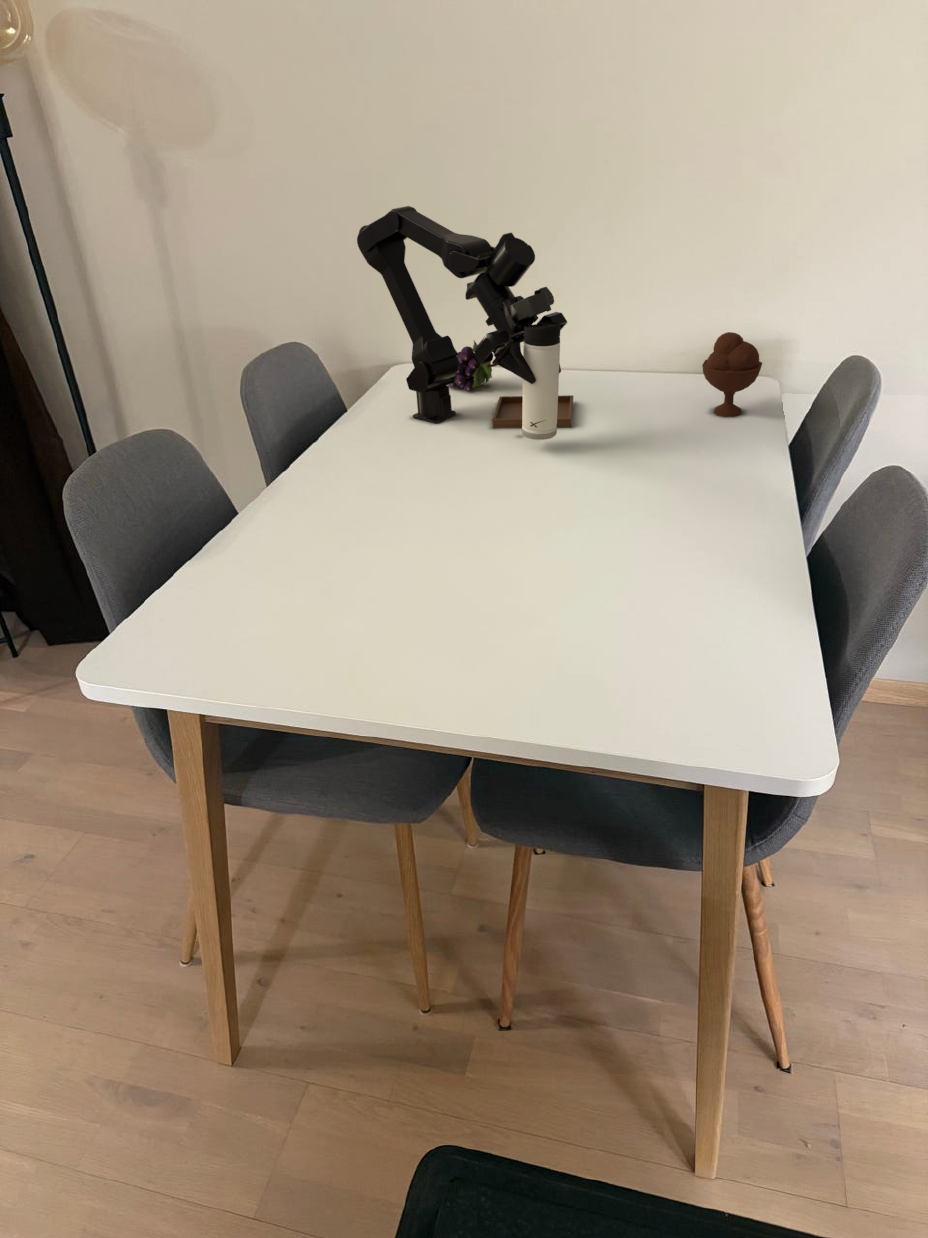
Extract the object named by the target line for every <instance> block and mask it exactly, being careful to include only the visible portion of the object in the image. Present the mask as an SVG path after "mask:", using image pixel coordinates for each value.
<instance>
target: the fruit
mask: <svg viewBox="0 0 928 1238" xmlns="http://www.w3.org/2000/svg"><path fill="white" fill-rule="evenodd" d="M477 345H478V344H477V342H476V340H473V344H472V347H471V346H468V345H467V346H464V347H462V348H461V350H460V351H457V352H458V355H457V357H458V360H459V366H458V371H457V376H456V381H455V383H453V384H449V385H448V386H451V387H455V386H457V385H458V388H459V389H463V390H464V391H465V392H466V391H467V392H471V391H473V390H474V389H475V388H476V387H480V386H482V385H483V384H484V383H485V385H488V382H489V381H490V379H493V375H492V372H493V368H494V367H498V365H493V364H492V361H491V362H488V363H485V364H482V365H480V364H479V362H478V360H477V359H476V357H475V348H476V347H477Z"/></svg>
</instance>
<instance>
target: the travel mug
mask: <svg viewBox="0 0 928 1238" xmlns="http://www.w3.org/2000/svg"><path fill="white" fill-rule="evenodd" d="M560 326H561V324H560V323H557V322H540V323H538V322H537V323H535V324H534V323H533V324H532V325H526V326H524V336H525V337H524V342H523V353H522V355H523V357H524V358H525V360H526V362H527V364H528V365H529V367H530V369H531V370H532V372H533V374H534V376H535V379H536V382H535V383H534V384H530V383H529V382H527V381H526V380H524V379H522V396H523V407H522V428H521V434H522V435H523V437H525V438H527V439H529V440H534V441H535V440H536V441H544V440H550V439H552V438H554V437H556V435H557V432H558V428H557V411H558V396H559V385H560V383H559V381H560V373H559V363H560V356H561V330H560Z"/></svg>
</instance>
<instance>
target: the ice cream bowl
mask: <svg viewBox="0 0 928 1238" xmlns="http://www.w3.org/2000/svg"><path fill="white" fill-rule="evenodd" d="M701 365H702V366H701V367H702V373H703V376H704V379H705V380H706V381H707V382H708V384H710V385H711V386H712V387H713V388H715V389H716V390H718V391H720V392H722V393H723V395H724V397H723V403H721V404H718V405H717V406H715V407H714V408H713V412H712V413H713V414H714V415H716V416H719V417H724V418H735V417H738V416H741V415H742V413H743V409H742V408H741V407H739V406H738V405H736V404H734V398H735V397H734V396H735V394H736V393H737V392H741V391H744V390H745V389H747V388H749V387H750V386H751V385H752V384H754V383H755V382H756V380H757V378H758V377H759V374H760V372H761V369H762V366H763V362H762V361H760V353H759V351H758V349H757V347H755V345H753V344H752V343H750V342H748V341H746V340H744V338H743V336H741V335H740V334H739V333H736V332H731V331H730V332H729V331H728V332H724V333H722V334H721V335H720V336H718V337H717V339H716V341H715V343H714V345H713V352H711V353H710V354H709V356H708V357H707V359H704V361H703V363H702V364H701Z"/></svg>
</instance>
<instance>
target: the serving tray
mask: <svg viewBox="0 0 928 1238" xmlns="http://www.w3.org/2000/svg"><path fill="white" fill-rule="evenodd" d="M495 406H496V407H495V409H494V413H493V416H492V419H491V422H492V423H491V425H492V429H522V407H523V395H506V396H505V395H499V397H498V400H497V403H496V405H495ZM573 411H574V395H573V394H572V395H569V394H568V395H558V411H557V429H558V428H559V429H561V428H564V429H565V428H567V429H568V428H569V429H570V428H572V421H573Z"/></svg>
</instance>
